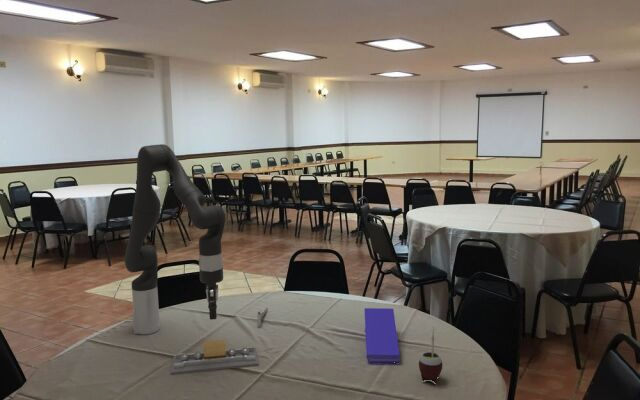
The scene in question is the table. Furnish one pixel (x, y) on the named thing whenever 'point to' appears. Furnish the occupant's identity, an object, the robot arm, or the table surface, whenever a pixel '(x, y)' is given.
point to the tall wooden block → (214, 349)
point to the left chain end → (197, 361)
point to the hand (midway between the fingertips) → (213, 314)
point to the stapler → (381, 336)
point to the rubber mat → (214, 365)
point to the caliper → (261, 316)
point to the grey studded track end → (234, 358)
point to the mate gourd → (430, 364)
